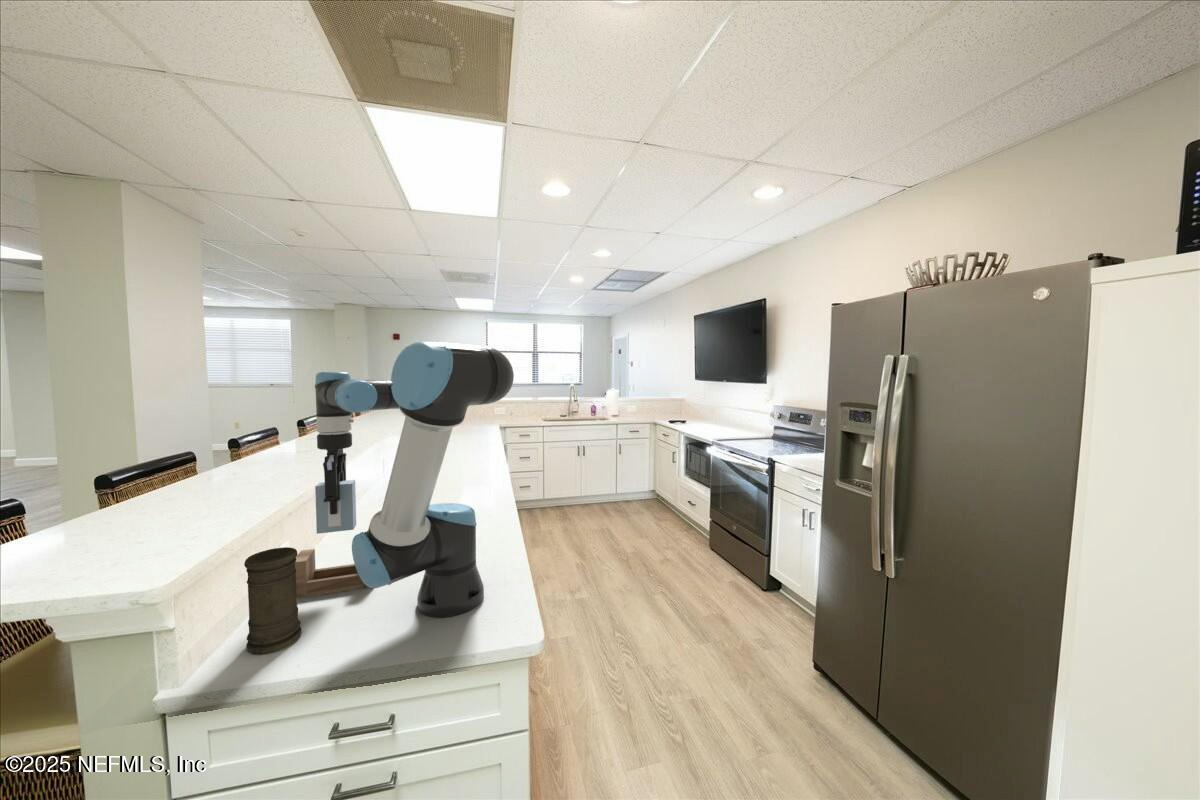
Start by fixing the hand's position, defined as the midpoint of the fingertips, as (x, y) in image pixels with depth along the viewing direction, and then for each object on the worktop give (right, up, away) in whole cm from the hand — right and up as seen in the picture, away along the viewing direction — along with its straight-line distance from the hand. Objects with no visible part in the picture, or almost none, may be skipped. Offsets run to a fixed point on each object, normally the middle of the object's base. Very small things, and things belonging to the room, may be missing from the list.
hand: (337, 522), depth 107 cm
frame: (0, -16, +1) cm, 16 cm away
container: (+1, -18, -22) cm, 29 cm away
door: (0, -2, 0) cm, 2 cm away
